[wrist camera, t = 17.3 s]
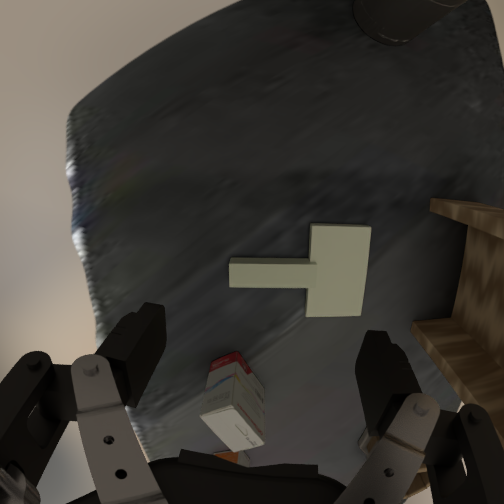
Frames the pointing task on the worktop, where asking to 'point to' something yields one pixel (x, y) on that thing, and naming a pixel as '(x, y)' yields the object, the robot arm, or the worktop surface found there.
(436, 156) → the worktop surface
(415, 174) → the worktop surface
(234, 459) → the skincare box
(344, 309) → the sage mallet
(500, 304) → the wooden crate
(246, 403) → the ink box
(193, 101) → the worktop surface
